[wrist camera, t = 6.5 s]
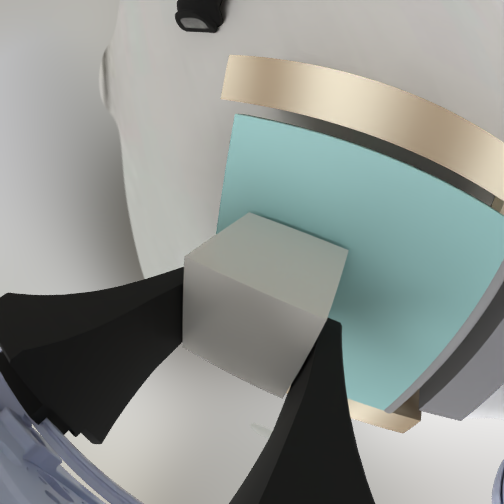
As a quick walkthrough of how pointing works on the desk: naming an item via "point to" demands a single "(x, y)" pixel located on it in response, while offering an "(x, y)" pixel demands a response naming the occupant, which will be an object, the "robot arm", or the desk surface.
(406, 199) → the trapdoor
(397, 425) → the rail stand
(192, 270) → the gray cube
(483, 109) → the desk surface
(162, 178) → the desk surface
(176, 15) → the electric trimmer
